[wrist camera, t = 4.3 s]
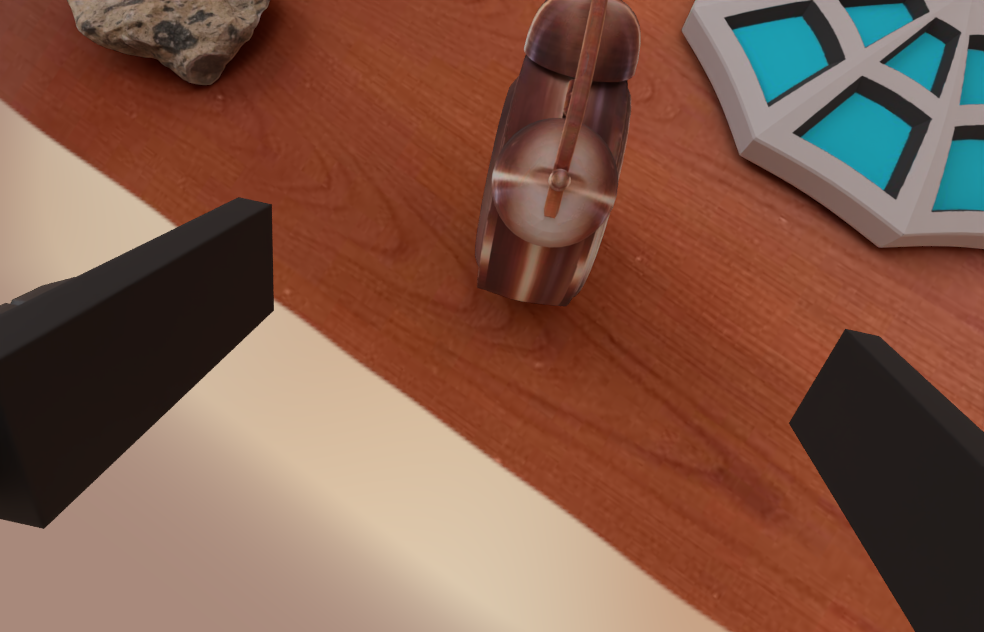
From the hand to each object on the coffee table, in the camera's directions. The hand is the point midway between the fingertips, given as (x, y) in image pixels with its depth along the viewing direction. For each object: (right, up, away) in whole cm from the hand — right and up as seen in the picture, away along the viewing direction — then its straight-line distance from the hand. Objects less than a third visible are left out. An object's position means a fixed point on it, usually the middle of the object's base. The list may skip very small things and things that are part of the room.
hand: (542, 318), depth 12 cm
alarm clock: (+1, +4, +18) cm, 18 cm away
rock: (-20, +19, +21) cm, 35 cm away
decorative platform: (+26, +18, +23) cm, 39 cm away
